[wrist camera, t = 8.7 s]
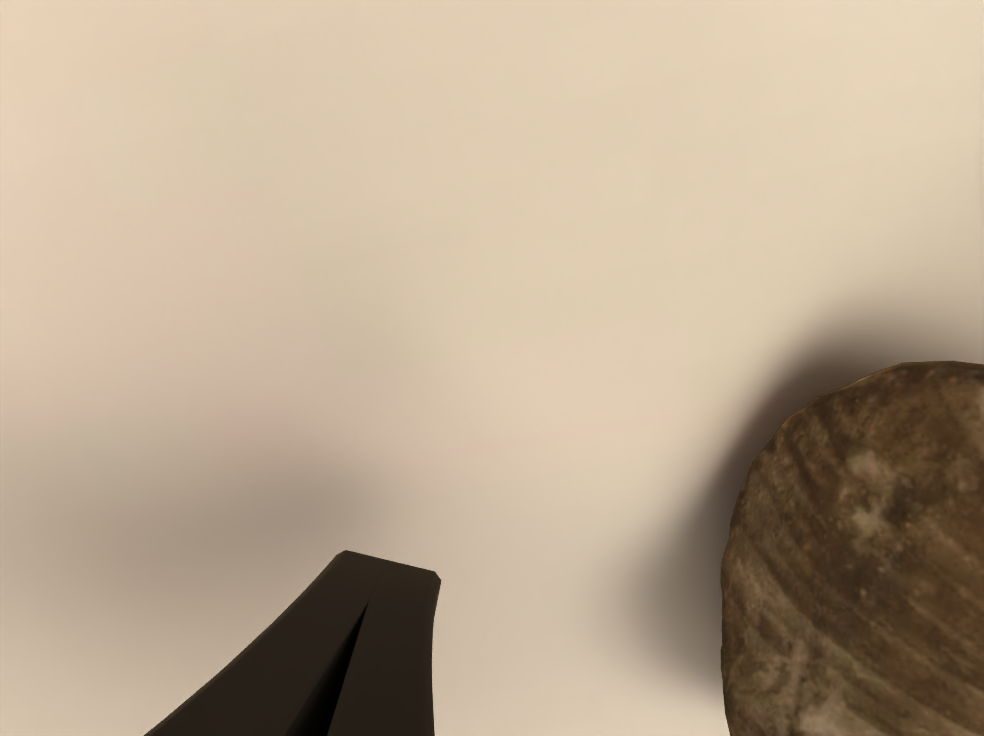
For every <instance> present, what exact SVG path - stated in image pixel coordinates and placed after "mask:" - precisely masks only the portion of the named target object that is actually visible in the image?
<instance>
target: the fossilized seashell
mask: <svg viewBox="0 0 984 736" xmlns="http://www.w3.org/2000/svg"><path fill="white" fill-rule="evenodd" d="M721 589H722V647H721V672H722V678H723V694H724V705H725V715H726V719H727V723H728V727H729V732H730V736H984V365H982V364H974V363H966V362H957V361H934V362H909V363H901V364H898V365H895V366H892V367H889V368H886V369H883V370H880V371H878V372H876V373H873V374H871V375H868V376H866V377H864V378H861V379H859V380H858V381H857V382H855V383H852V384H850V385H847V386H844V387H842V388H839V389H837V390H834V391H831V392H829V393H826V394H824V395H821V396H819V397H817V398H815V399H814V400H813V401H812V402H811V403H809V404H808V405H807V406H806V407H804V408H803V409H801V410H799V411H798V412H796V413H794V414H793V415H791V416H790V417H789V418H788V419H786V421H785V422H784V423H783V425H782V426H781V428H780V429H779V431H778V432H777V433H776V435H775V436H774V438H773V439H772V440H771V441H770V442H769V444H768V445H767V446H766V447H765V448H764V450H763V451H762V452H761V453H760V455H759V456H758V457H757V458H756V460H755V461H754V462H753V464H752V466H751V468H750V470H749V473H748V477H747V480H746V482H745V483H744V485H743V487H742V489H741V491H740V493H739V496H738V499H737V502H736V505H735V508H734V511H733V515H732V519H731V523H730V533H729V539H728V542H727V546H726V549H725V552H724V555H723V558H722V562H721Z"/></svg>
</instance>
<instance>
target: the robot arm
mask: <svg viewBox="0 0 984 736" xmlns="http://www.w3.org/2000/svg"><path fill="white" fill-rule="evenodd" d="M440 585H441V579H440V578H439V577H438V575H437V574H436V573H435V571H430V570H426V569H422V568H418V567H414V566H410V565H405V564H401V563H397V562H393V561H389V560H385V559H381V558H376V557H372V556H368V555H364V554H360V553H356V552H351V551H347V550H345V551H343V552H341V553H339V554H337V555H336V556H335V557H334V559H333V560H332V561H331V562H330V563H329V564H328V566H327V567H326V568H325V569H324V570H323V571H322V572H321V573H320V574H319V576H318V577H317V578H316V579H315V580H314V581H313V582H312V583H311V584H310V585H309V586H308V587H307V588H306V590H305V591H304V592H303V593H302V594H301V595H300V596H299V597H298V598H297V599H296V600H295V601H294V602H293V603H292V604H291V605H290V606H289V607H288V608H287V609H286V610H285V611H284V612H283V613H282V614H281V615H280V616H279V617H278V618H277V619H276V620H275V621H274V622H273V623H272V624H271V625H270V626H269V627H268V628H267V629H265V630H264V631H263V632H262V633H261V634H260V635H259V636H258V637H257V638H256V639H255V640H254V641H253V642H252V643H251V644H249V645H248V646H247V647H246V648H245V649H244V650H243V651H242V652H241V653H240V654H239V655H238V656H237V657H236V658H235V659H233V660H232V661H231V662H230V663H229V664H228V665H227V666H226V667H225V668H224V669H222V670H221V671H220V672H219V673H218V674H217V675H216V676H214V677H213V678H212V679H211V680H210V681H209V682H207V683H206V684H205V685H204V686H203V687H201V688H200V689H199V690H198V691H197V692H196V693H194V694H193V695H192V696H191V697H190V698H188V699H187V700H186V701H185V702H184V703H183V704H181V705H180V706H179V707H178V708H177V709H176V710H174V711H173V712H172V713H171V714H170V715H168V716H167V717H166V718H165V719H164V720H163V721H161V722H160V723H159V724H158V725H156V726H155V727H154V728H153V729H151V730H150V731H149V732H148V733H146V734H145V735H144V736H435V734H434V715H433V694H432V638H433V623H434V615H435V610H436V605H437V600H438V595H439V590H440Z"/></svg>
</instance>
